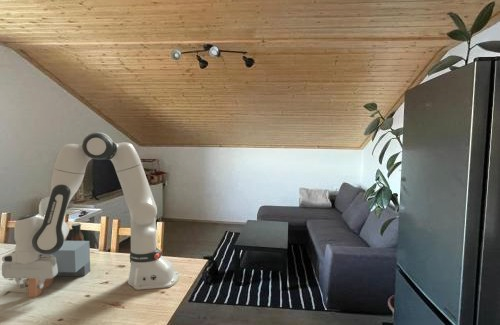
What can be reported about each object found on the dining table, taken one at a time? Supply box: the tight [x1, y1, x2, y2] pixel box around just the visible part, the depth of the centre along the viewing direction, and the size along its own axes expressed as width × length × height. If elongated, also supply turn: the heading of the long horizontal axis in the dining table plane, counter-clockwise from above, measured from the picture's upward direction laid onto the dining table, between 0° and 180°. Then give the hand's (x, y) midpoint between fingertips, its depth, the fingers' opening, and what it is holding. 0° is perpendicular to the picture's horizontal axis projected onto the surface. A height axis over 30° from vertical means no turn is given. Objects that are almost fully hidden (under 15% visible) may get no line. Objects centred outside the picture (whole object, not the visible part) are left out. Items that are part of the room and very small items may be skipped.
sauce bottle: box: [69, 222, 85, 241], centre depth 154 cm, size 7×6×20 cm
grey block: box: [43, 240, 91, 277], centre depth 137 cm, size 18×12×15 cm, turn 90°
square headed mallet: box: [27, 277, 55, 298], centre depth 126 cm, size 3×12×9 cm, turn 0°
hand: (31, 287), depth 120 cm, fingers open, 6 cm apart
